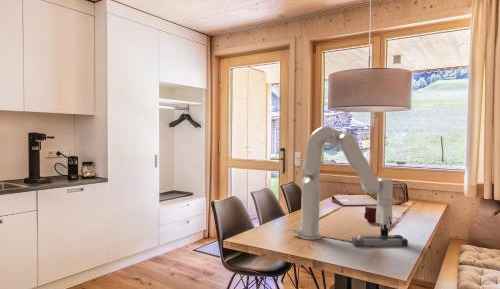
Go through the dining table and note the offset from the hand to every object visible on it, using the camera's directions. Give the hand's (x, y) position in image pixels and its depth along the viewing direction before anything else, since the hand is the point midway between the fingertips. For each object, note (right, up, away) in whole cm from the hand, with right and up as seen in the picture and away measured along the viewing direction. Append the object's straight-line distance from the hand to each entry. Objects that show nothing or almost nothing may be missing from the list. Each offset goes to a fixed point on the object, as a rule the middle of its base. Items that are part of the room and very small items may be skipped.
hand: (384, 236), depth 182 cm
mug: (+4, -1, +33) cm, 33 cm away
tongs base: (-5, -2, -7) cm, 9 cm away
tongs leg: (-3, -2, -3) cm, 5 cm away
